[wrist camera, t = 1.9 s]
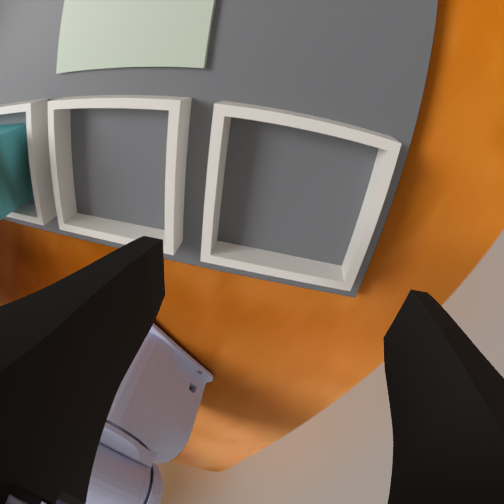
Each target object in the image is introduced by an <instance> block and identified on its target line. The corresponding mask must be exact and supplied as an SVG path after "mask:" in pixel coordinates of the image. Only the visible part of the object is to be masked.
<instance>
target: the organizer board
mask: <svg viewBox="0 0 504 504" xmlns="http://www.w3.org/2000/svg"><path fill="white" fill-rule="evenodd" d="M437 6H438V0H0V125H3V124H15V123H26V129H27V144H28V156H29V165H30V173H31V181H32V188H33V195H34V197H33V198H31V199H30V200H28V201H27V202H25V203H24V204H22V205H21V206H19V207H18V208H17V209H15V210H14V211H12V212H11V213H10V214H8V215H7V216H5V217H4V218H3V220H7V221H11V222H15V223H18V224H22V225H26V226H30V227H34V228H38V229H42V230H46V231H50V232H54V233H58V234H62V235H66V236H70V237H74V238H78V239H82V240H86V241H90V242H94V243H99V244H103V245H107V246H111V247H116V248H120V247H122V246H124V245H126V244H128V243H130V242H132V241H134V240H136V239H138V238H140V237H142V236H148V237H153V238H157V239H162V240H163V257H164V259H168V260H173V261H177V262H182V263H186V264H191V265H195V266H200V267H205V268H209V269H214V270H219V271H223V272H228V273H233V274H238V275H243V276H247V277H252V278H257V279H262V280H267V281H272V282H277V283H282V284H287V285H292V286H297V287H302V288H307V289H313V290H318V291H323V292H328V293H334V294H339V295H344V296H350V297H355V296H356V294H357V292H358V290H359V287H360V285H361V283H362V280H363V278H364V276H365V273H366V271H367V268H368V266H369V263H370V261H371V258H372V256H373V253H374V251H375V248H376V246H377V243H378V241H379V238H380V235H381V233H382V230H383V227H384V225H385V222H386V219H387V216H388V213H389V211H390V208H391V205H392V202H393V199H394V196H395V193H396V190H397V187H398V184H399V181H400V177H401V174H402V171H403V168H404V164H405V161H406V158H407V154H408V151H409V147H410V144H411V140H412V136H413V133H414V129H415V125H416V121H417V117H418V113H419V109H420V105H421V100H422V96H423V91H424V87H425V82H426V77H427V72H428V67H429V61H430V56H431V50H432V44H433V37H434V30H435V23H436V15H437Z"/></svg>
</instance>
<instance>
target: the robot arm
mask: <svg viewBox="0 0 504 504" xmlns="http://www.w3.org/2000/svg"><path fill="white" fill-rule="evenodd" d="M164 296H165V285H164V257H163V240H162V239H157V238H153V237H148V236H142V237H140V238H138V239H136V240H134V241H132V242H130V243H128V244H126V245H124V246H122V247H120V248H119V249H117V250H115V251H113V252H111V253H110V254H108V255H106V256H104V257H102V258H101V259H99V260H97V261H95V262H93V263H92V264H90V265H88V266H86V267H84V268H82V269H81V270H79V271H77V272H75V273H73V274H71V275H69V276H67V277H65V278H63V279H61V280H60V281H58V282H56V283H54V284H52V285H50V286H48V287H46V288H44V289H41V290H39V291H37V292H35V293H33V294H30V295H28V296H26V297H23V298H21V299H19V300H16V301H14V302H11V303H8V304H6V305H3V306H0V504H160V501H161V497H162V493H163V478H162V476H161V473H160V469H159V467H158V466H157V465H156V464H154V463H153V462H155V463H165V462H168V461H170V460H172V459H173V458H175V457H176V456H177V455H178V454H179V453H180V452H181V451H182V449H183V448H184V447H185V445H186V443H187V442H188V440H189V437H190V435H191V432H192V428H193V425H194V422H195V418H196V415H197V412H198V408H199V405H200V402H201V398H202V395H203V392H204V388H205V385H206V383H208V382H211V381H213V378H214V376H213V375H212V374H211V373H210V372H209V371H208V370H206V369H205V368H204V367H203V366H202V365H200V364H199V363H198V362H197V361H196V360H195V359H193V358H192V357H191V356H190V355H189V354H188V353H186V352H185V351H184V350H183V349H182V348H181V347H180V346H178V345H177V344H176V343H175V342H174V341H173V340H172V339H171V338H170V337H168V336H167V335H166V334H165V333H164V332H163V331H162V330H161V329H160V328H159V327H158V326H157V325H155V324H154V321H155V319H156V316H157V314H158V311H159V309H160V306H161V304H162V301H163V299H164ZM384 362H385V373H386V380H387V387H388V395H389V402H390V409H391V417H392V427H393V466H392V477H391V486H390V494H389V499H388V504H504V378H503V377H502V376H501V375H500V374H499V373H498V372H497V370H495V368H494V367H493V366H492V365H491V363H490V362H489V361H488V360H487V359H486V358H485V357H484V356H483V354H482V353H481V352H480V351H479V350H478V348H477V347H476V346H475V345H474V344H473V343H472V341H471V340H470V339H469V338H468V337H467V335H466V334H465V333H464V332H463V331H462V329H461V328H460V327H459V326H458V325H457V323H456V322H455V321H454V320H453V319H452V318H451V317H450V315H449V314H448V313H447V312H446V311H445V310H444V309H443V308H442V306H441V305H440V304H439V303H438V302H437V301H436V300H435V299H434V298H433V297H432V296H431V295H429V294H428V293H426V292H421V291H415V290H410V292H409V294H408V296H407V298H406V300H405V302H404V303H403V305H402V307H401V309H400V311H399V312H398V314H397V316H396V318H395V319H394V321H393V323H392V325H391V326H390V328H389V330H388V331H387V333H386V335H385V336H384Z"/></svg>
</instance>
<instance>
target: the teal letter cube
mask: <svg viewBox="0 0 504 504" xmlns="http://www.w3.org/2000/svg"><path fill="white" fill-rule="evenodd" d="M33 197H34V195H33V188H32V181H31V173H30V165H29V156H28V144H27V129H26V123H15V124H3V125H0V220H1V219H3V218H4V217H5V216H7V215H8V214H10V213H11V212H12V211H14V210H15V209H17V208H18V207H19V206H21V205H22V204H24V203H25V202H27V201H28V200H30V199H31V198H33Z"/></svg>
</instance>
